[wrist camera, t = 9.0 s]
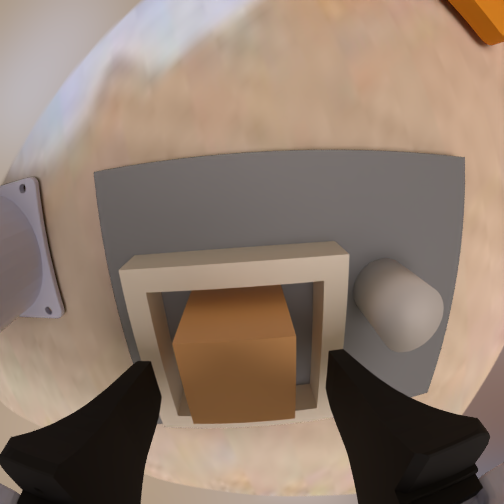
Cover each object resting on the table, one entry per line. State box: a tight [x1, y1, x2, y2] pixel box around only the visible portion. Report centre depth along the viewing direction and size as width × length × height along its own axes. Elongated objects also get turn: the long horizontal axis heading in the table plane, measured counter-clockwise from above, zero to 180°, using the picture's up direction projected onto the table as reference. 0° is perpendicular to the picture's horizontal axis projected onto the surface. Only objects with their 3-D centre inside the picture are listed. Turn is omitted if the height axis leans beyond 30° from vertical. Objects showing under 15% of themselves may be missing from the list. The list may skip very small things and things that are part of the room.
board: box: [94, 150, 465, 428], centre depth 13 cm, size 18×15×4 cm
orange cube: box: [172, 284, 296, 424], centre depth 12 cm, size 4×4×4 cm
